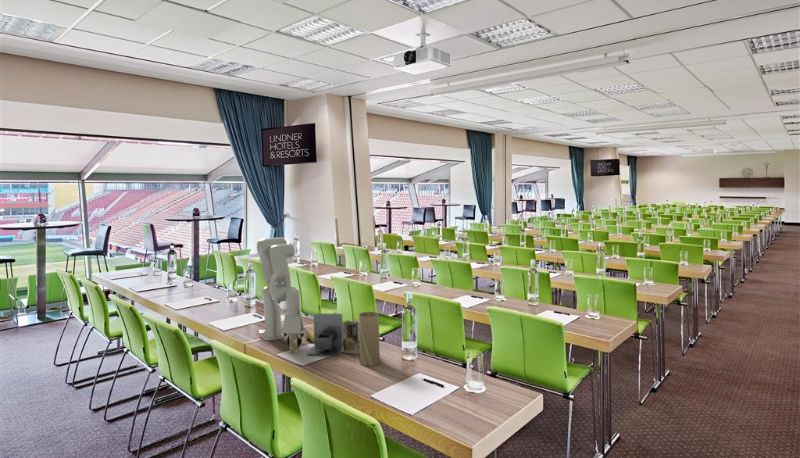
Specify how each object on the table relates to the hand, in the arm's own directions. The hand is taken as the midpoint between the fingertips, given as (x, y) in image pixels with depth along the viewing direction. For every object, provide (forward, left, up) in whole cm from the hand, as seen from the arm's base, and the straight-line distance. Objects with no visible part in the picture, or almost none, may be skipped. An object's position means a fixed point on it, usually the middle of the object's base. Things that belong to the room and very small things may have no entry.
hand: (294, 344), depth 262 cm
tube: (+44, -14, -4) cm, 46 cm away
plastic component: (+10, +24, -4) cm, 26 cm away
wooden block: (0, 0, -4) cm, 4 cm away
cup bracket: (+17, +2, -4) cm, 18 cm away
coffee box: (+32, +2, -4) cm, 32 cm away
